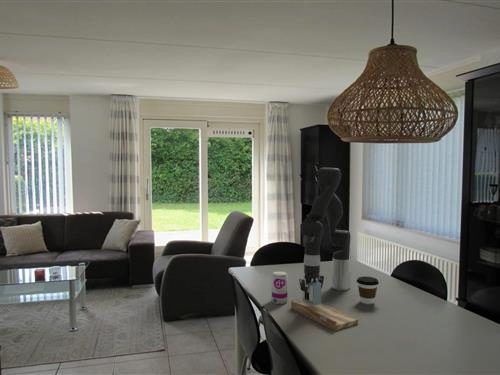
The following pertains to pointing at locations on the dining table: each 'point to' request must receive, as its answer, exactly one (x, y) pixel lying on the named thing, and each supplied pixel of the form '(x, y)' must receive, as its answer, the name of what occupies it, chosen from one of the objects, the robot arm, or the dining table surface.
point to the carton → (314, 294)
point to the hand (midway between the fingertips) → (311, 298)
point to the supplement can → (279, 287)
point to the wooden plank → (324, 315)
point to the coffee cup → (367, 289)
